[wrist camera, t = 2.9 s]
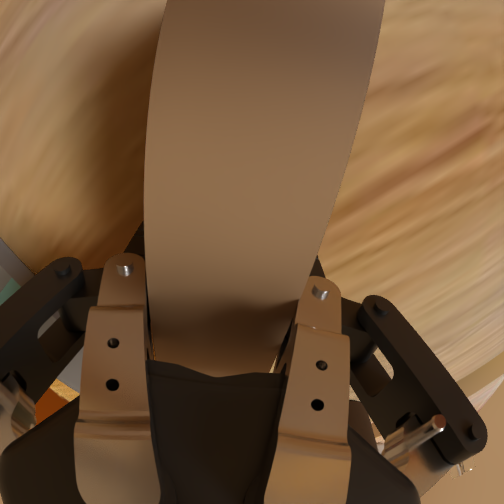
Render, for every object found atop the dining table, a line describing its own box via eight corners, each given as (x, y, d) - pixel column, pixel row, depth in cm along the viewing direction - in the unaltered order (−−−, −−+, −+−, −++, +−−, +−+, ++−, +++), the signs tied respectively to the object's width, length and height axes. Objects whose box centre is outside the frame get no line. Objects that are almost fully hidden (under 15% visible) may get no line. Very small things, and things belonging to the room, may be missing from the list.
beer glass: (451, 429, 48) (464, 472, 35) (434, 436, 47) (446, 481, 35) (466, 418, 44) (480, 463, 32) (449, 426, 44) (463, 474, 31)
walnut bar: (218, -7, 7) (194, -81, 2) (321, 11, 7) (390, -40, 2) (181, 347, 18) (169, 427, 13) (239, 354, 18) (239, 434, 13)
